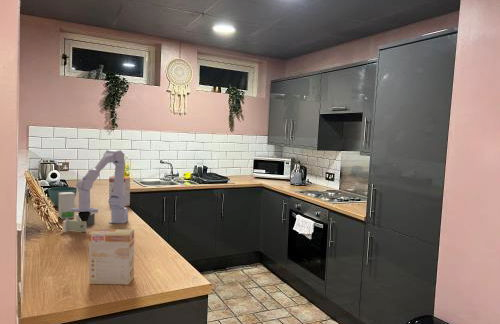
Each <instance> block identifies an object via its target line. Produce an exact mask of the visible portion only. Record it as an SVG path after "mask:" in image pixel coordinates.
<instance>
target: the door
mask: <svg viewBox="0 0 500 324" xmlns="http://www.w3.org/2000/svg"><path fill="white" fill-rule="evenodd" d="M68 230H69V231H73V232H81V233H82V232H84V233H85V232H87V225H86V221H81V220H80V221H76V219H75V220H73V219H68Z"/></svg>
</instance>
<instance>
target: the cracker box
mask: <svg viewBox="0 0 500 324" xmlns="http://www.w3.org/2000/svg"><path fill="white" fill-rule="evenodd" d="M114 177H115V175H113V176H109V178H108V184H109V185H108V188H109V189H108V199H109V198H110V194H111V193H112V192H113V189H114ZM123 193H124V194H125V195H126V201H127V203H126V205H125V206H126V207H129V206H131V197H130V196H131V177H127V176H124V184H123ZM117 197H118V196H117Z"/></svg>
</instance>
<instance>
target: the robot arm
mask: <svg viewBox="0 0 500 324" xmlns="http://www.w3.org/2000/svg"><path fill="white" fill-rule="evenodd" d="M125 161H126V160H125V153H124V152H123V151H122V150H116V149H115V150H114V149H107V150H106V151H105V152H104V153H103V156H102V158H101V159H100V160H99V162H97V164H96V165H95V167H94V168H91V169H89V170H88V171H87V172H86V174H85V175H84V176H83V177H82V178H81V179H79V180H78V181H77V183H76V184H75V188H77V192H78V207H75V208H71V212H75V213H77V214H78V215H79V217H80V221H86V226H88V225H87V220H88V217H89V215H90V214H91V213H95V214H98V213H99V208H93V207H91V189H92V188H93V184H94V182H95V181H96V180H97V179H98V178H99V176H100V172H101V171H102V170H103V169H104V168H105V167H106V166H107V165H108V164H111V163H112V164H113V165H114V166H115V167H114V176H115V177H114V189H113V192H112V193H111V194H110V198H109V197H108V201H107V202H108V205H109V206H110V209H111V210H110V217H111V218H110V219H111V220H110V221H108V223H109V224H126V223H127V222H129V209H128V207H125V205H126V203H127V201H126V195H125V194H124V193H123V184H124V177H125V172H126V162H125ZM117 196H118V197H117Z"/></svg>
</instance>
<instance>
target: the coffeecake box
mask: <svg viewBox="0 0 500 324" xmlns="http://www.w3.org/2000/svg"><path fill="white" fill-rule="evenodd" d="M88 261H89V262H88V267H89V268H88V269H89V270H88V273H89V274H88V277H89V278H88V280H89V281H88V283H89V285H126V286H127V285H128V286H129V285H130V284H131V282H132V281H133V280H134V279H135V229H115V228H114V229H111V228H109V229H108V228H96V229H94V230H93V231H91V232H89V233H88Z"/></svg>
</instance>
